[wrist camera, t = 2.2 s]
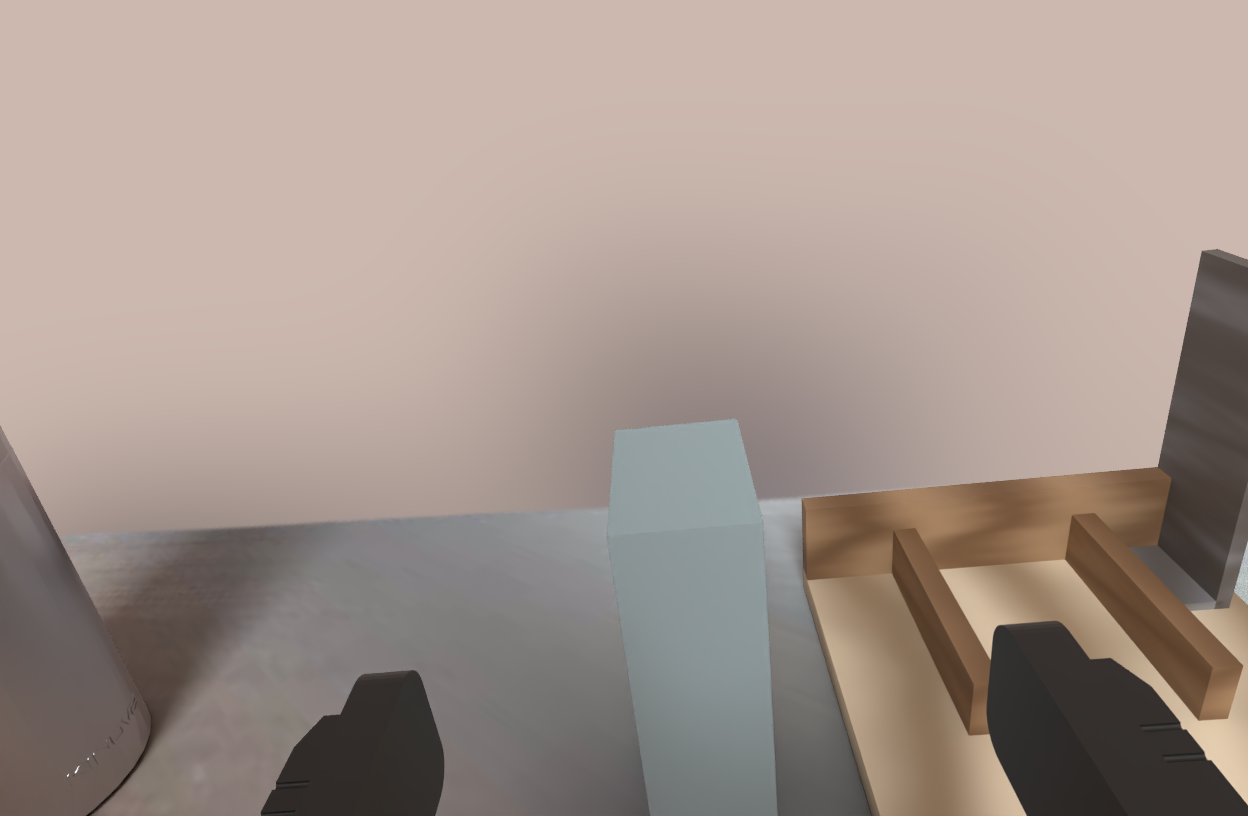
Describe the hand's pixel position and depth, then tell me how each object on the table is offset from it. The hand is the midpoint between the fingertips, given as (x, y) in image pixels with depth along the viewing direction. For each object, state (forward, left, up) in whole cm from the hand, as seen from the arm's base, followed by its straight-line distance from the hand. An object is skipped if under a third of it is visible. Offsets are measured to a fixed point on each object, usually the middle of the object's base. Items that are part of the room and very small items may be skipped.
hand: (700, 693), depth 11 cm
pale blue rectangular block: (0, +11, -17) cm, 20 cm away
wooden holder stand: (+14, +15, -17) cm, 27 cm away
